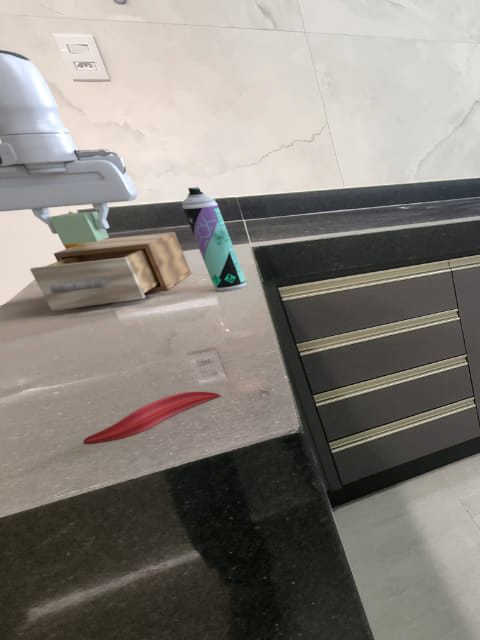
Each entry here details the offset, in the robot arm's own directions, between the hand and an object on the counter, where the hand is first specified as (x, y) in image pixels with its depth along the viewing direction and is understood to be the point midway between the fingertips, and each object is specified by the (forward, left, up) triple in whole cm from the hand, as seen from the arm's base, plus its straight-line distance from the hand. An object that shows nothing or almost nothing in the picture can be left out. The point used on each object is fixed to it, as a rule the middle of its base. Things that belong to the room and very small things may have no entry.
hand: (81, 230), depth 99 cm
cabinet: (0, +12, -14) cm, 18 cm away
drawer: (0, -1, -13) cm, 13 cm away
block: (0, 0, -2) cm, 2 cm away
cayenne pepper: (+27, -67, -14) cm, 74 cm away
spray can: (+20, -2, -14) cm, 25 cm away
